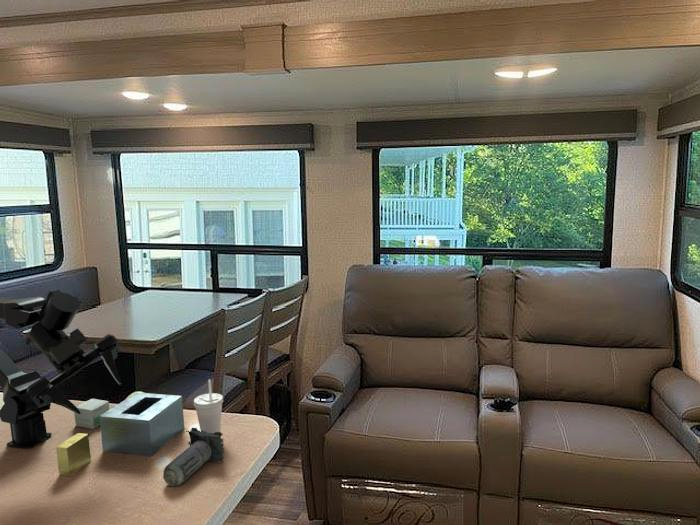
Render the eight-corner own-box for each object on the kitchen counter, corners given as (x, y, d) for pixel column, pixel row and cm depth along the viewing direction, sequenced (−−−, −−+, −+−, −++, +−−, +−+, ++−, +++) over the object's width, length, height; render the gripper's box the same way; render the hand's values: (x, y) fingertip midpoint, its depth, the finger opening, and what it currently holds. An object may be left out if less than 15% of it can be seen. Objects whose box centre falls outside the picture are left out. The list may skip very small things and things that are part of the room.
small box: (93, 429, 126) (91, 410, 125) (74, 426, 128) (72, 407, 127) (111, 419, 131) (109, 400, 130) (93, 416, 133) (91, 397, 132)
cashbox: (102, 451, 115) (99, 416, 114) (139, 424, 127) (136, 392, 126) (152, 456, 112) (148, 420, 111) (184, 428, 125) (181, 395, 124)
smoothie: (218, 447, 115) (214, 386, 113) (191, 445, 116) (186, 384, 114) (230, 433, 121) (226, 375, 119) (204, 431, 123) (200, 374, 120)
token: (59, 475, 106) (56, 447, 105) (80, 459, 112) (77, 433, 111) (70, 476, 105) (66, 448, 104) (91, 461, 111) (88, 434, 110)
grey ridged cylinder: (197, 460, 113) (159, 494, 102) (188, 426, 112) (148, 457, 101) (232, 459, 109) (197, 494, 98) (223, 425, 108) (186, 456, 97)
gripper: (0, 357, 100) (49, 418, 97) (91, 302, 110) (138, 355, 107) (14, 377, 109) (60, 434, 106) (97, 324, 120) (141, 374, 116)
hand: (100, 398), depth 109 cm, fingers open, 9 cm apart
